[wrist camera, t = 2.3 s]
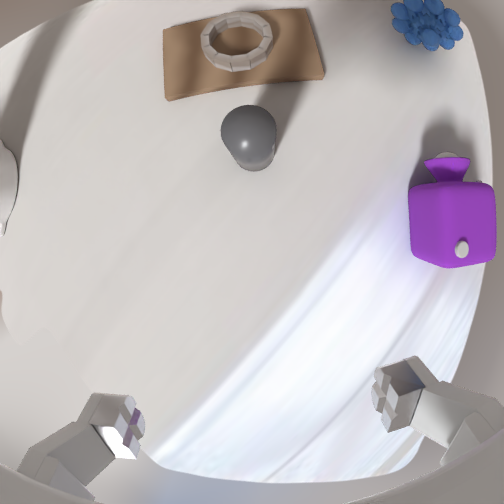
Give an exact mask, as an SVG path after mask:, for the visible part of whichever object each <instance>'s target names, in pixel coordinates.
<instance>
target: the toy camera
mask: <svg viewBox="0 0 504 504" xmlns="http://www.w3.org/2000/svg"><path fill="white" fill-rule="evenodd" d="M424 164H425V166H426V167H427V169H428V170H429V171H430V172H431V174H432V175H433V176H434V177H435V179H436V180H437V183H429V184H422V185H417V186H414V187H412V188H411V189H410V190H409V193H408V205H409V221H410V241H411V251H412V253H413V255H414V256H415V257H417V258H419V259H421V260H424V261H427V262H429V263H432V264H435V265H437V266H440V267H443V268H457V267H463V266H468V265H474V264H479V263H484V262H488V261H490V260H492V259H493V258H494V256H495V252H496V204H495V195H494V190H493V188H492V187H491V186H490V185H488V184H485V183H482V181H479V180H478V181H476V182H463V181H462V180H463V177H464V175H465V173H466V171H467V169H468V167H469V164H470V159H468V158H463V157H459V156H457V155H456V154H454V153H451V152H443V153H440V154H438V155H437V156H436V157H435V158H434V159H429V160H426V161H424Z"/></svg>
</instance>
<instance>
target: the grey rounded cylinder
mask: <svg viewBox="0 0 504 504" xmlns="http://www.w3.org/2000/svg"><path fill="white" fill-rule="evenodd" d="M276 131H277V129H276V123H275V121H274V119H273V117H272V116H271V114H270V113H269V112H268V111H266V110H265V109H263V108H261V107H258V106H254V105H244V106H240V107H237V108H235V109H233V110H232V111H231V112H229V113H228V114H227V116H226V117H225V118H224V120H223V122H222V125H221V137H222V140H223V142H224V144H225V146H226V147H227V148H228V150H229V151H230V153H231V154H232V156H233V157H234V159H235V160H236V162H237V163H238V164H239V165H240V166H241V167H242V168H243V169H245V170H248V171H260V170H263V169H265V168H266V167H267V166H269V165H270V163H271V162H272V160H273V157H274V151H275V141H276Z"/></svg>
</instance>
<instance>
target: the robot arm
mask: <svg viewBox="0 0 504 504" xmlns="http://www.w3.org/2000/svg"><path fill="white" fill-rule="evenodd" d="M17 183H18V173H17V165H16V161H15V158H14V156H13V154H12V152H11V151H10V150H8V149H6V148H5V147H4V144H3V142H2V140H0V237H2V236H3V235H4V232H5V227H6V222H7V219H8V217H9V215H10V213H11V211H12V208H13V205H14V202H15V198H16V192H17ZM374 378H375V379H376V382H375V383H374V385H373V386H372V392H371V394H372V401H373V405H374V407H375V409H376V411H378V412H380V413H382V417H381V421H382V423H383V425H384V427H385V428H386V430H387V432H392V431H395V430H398V429H401V428H404V427H406V426H409V425H410V427H411V428H413V429H415V430H416V431H418V432H420V433H421V434H423V435H425V436H426V437H428V438H430V439H432V440H434V441H435V442H437V443H439V444H440V445H442V446H444V447H446V448H447V451H446V452H445V454H444V456H443V457H442V458H441V460H440V464H441V467H439V468H437V469H435V470H433V471H431V472H429V473H427V474H425V475H423V476H420V477H418V478H416V479H414V480H411V481H409V482H406V483H404V484H402V485H399V486H396V487H394V488H391V489H388V490H386V491H383V492H380V493H377V494H374V495H371V496H368V497H365V498H361V499H358V500H355V501H351V502H347V503H343V504H504V407H503V406H502V405H501V404H500V403H499V401H498V400H497V399H496V398H493V397H490V396H487V395H484V394H480V393H477V392H474V391H471V390H468V389H465V388H462V387H459V386H456V385H453V384H451V383H448V382H445V381H441V382H439V381H438V380H437V379H436V377H435V376H434V375H433V374H432V373H431V372H430V370H429V369H428V368H427V367H426V366H425V364H424V363H423V362H422V361H421V360H420V359H419V357H417V356H412V357H409V358H406V359H403V360H400V361H397V362H394V363H390V364H387V365H384V366H380V367H377V368H376V370H375V373H374ZM135 406H136V402H135V400H134V398H133V397H132V396H129V395H116V394H103V393H93V394H92V395H91V396H90V398H89V400H88V402H87V403H86V405H85V407H84V409H83V411H82V412H81V414H80V416H79V418H78V420H77V421H76V422H71V423H70V424H68V425H67V426H65V427H63V428H62V429H60V430H59V431H57V432H55V433H54V434H52V435H50V436H49V437H47V438H46V439H44V440H42V441H41V442H39V443H37V444H35V445H34V446H32V447H30V448H29V450H28V451H27V453H26V455H25V457H24V459H23V460H22V462H21V464H20V466H19V468H18V469H17V471H15V470H13V469H11V468H9V467H7V466H6V465H4V464H2V463H0V504H102V503H99V502H95V501H94V500H95V496H94V495H93V494H92V493H91V492H90V491H89V490H88V489H87V488H86V487H85V486H87V484H89V483H90V482H91V481H92V480H93V479H94V478H95V477H96V476H97V475H98V474H99V473H100V472H101V471H103V470H104V469H105V468H106V467H107V466H108V465H109V464H110V463H111V462H112V461H113V460H114V459H115V457H120V458H129V459H137V455H138V452H139V449H140V446H141V445H140V443H139V441H138V440H139V439H140V438H142V437H143V435H144V432H145V421H144V417H143V415H142V413H141V412H140V411H139V410H138V409H136V408H135Z"/></svg>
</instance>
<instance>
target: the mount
mask: <svg viewBox="0 0 504 504" xmlns="http://www.w3.org/2000/svg"><path fill="white" fill-rule="evenodd" d="M163 65H164V89H165V98H166V99H167V100H168V101H173V100H177V99H181V98H185V97H190V96H194V95H199V94H204V93H209V92H214V91H220V90H225V89H231V88H238V87H245V86H252V85H260V84H269V83H279V82H291V81H307V80H323V77H324V71H323V67H322V64H321V60H320V56H319V52H318V49H317V45H316V42H315V38H314V35H313V31H312V28H311V25H310V22H309V18H308V15H307V12H306V9H279V10H266V11H255V12H244V11H237V12H231V13H224V14H222V15H220V16H218V17H214V18H209V19H204V20H199V21H195V22H191V23H186V24H182V25H178V26H175V27H171V28H167V29H164V30H163Z"/></svg>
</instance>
